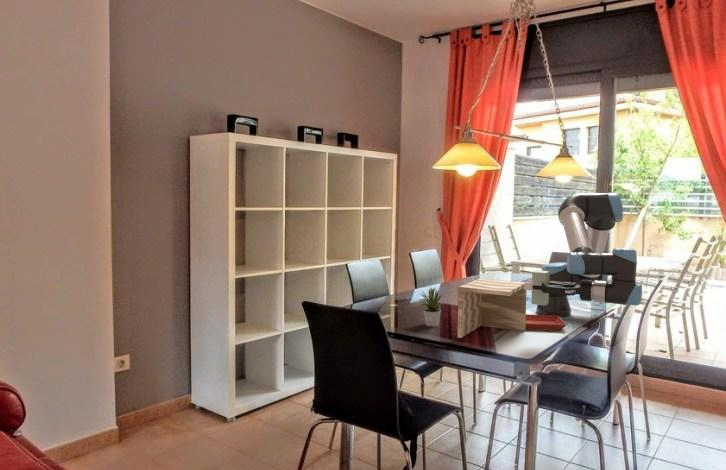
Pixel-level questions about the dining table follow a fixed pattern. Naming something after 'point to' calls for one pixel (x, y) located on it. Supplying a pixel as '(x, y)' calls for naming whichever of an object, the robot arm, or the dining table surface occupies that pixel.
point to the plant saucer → (544, 322)
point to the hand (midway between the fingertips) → (526, 284)
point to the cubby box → (491, 305)
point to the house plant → (431, 308)
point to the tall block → (538, 296)
